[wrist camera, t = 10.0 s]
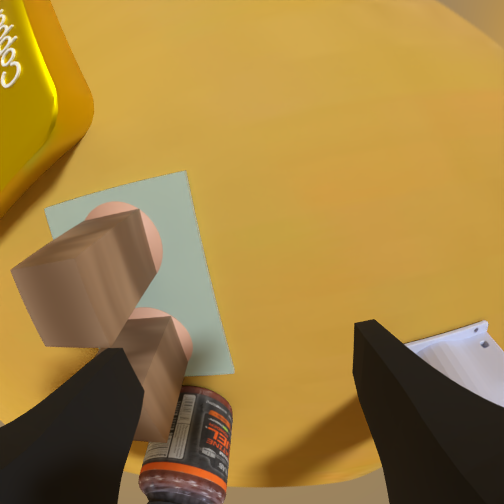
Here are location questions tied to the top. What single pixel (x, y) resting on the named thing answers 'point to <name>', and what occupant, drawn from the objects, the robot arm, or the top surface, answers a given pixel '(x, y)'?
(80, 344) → the walnut block
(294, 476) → the top surface
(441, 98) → the top surface
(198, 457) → the supplement bottle
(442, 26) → the top surface
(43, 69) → the element tile
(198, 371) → the board
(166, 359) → the block
